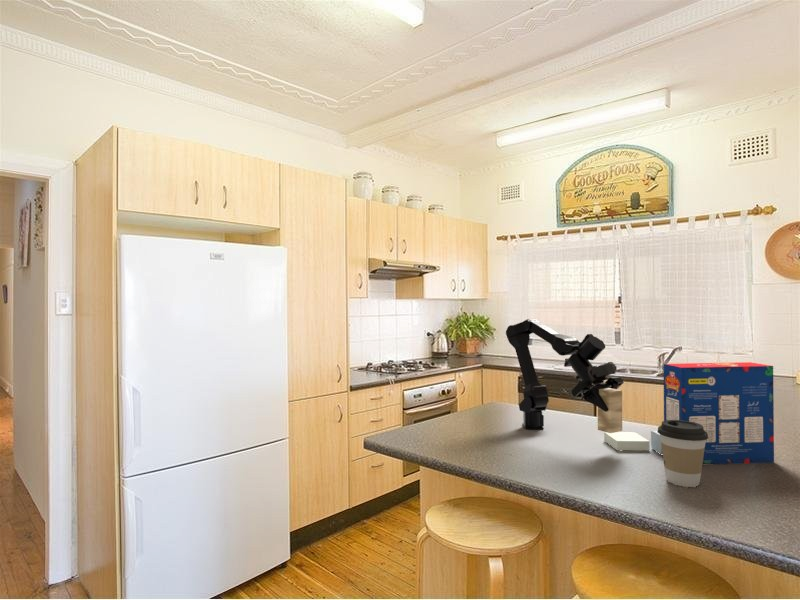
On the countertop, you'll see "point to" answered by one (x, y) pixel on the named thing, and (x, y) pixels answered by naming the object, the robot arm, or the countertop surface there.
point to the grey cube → (656, 441)
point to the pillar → (610, 411)
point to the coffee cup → (682, 451)
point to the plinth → (626, 441)
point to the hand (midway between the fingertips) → (613, 409)
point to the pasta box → (725, 408)
